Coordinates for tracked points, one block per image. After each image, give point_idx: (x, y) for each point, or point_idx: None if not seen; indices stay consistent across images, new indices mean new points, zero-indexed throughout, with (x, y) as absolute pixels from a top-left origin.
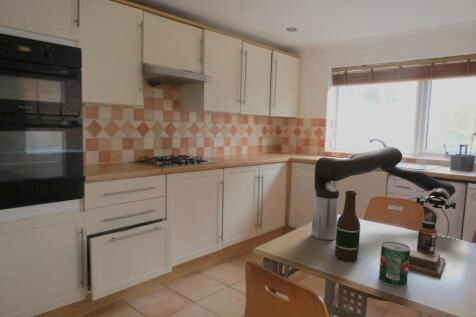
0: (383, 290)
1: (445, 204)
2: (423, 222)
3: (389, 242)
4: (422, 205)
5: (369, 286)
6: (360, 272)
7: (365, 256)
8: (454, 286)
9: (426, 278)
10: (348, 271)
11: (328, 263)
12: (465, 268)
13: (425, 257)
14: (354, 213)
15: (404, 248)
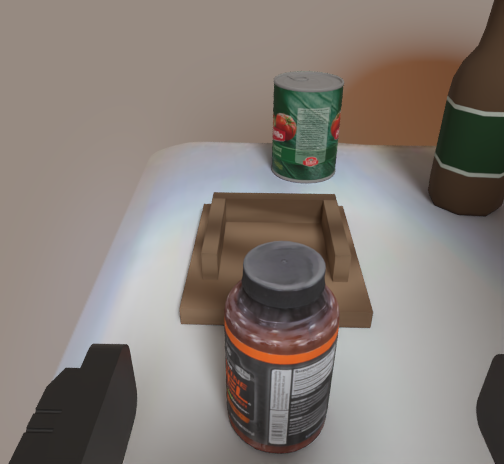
0: None
1: (126, 346)
2: (313, 249)
3: (332, 88)
4: (482, 418)
5: None
6: (377, 168)
7: (436, 230)
8: (168, 201)
9: None
10: (399, 162)
11: None
12: (103, 312)
13: None
14: (483, 39)
15: (287, 82)
